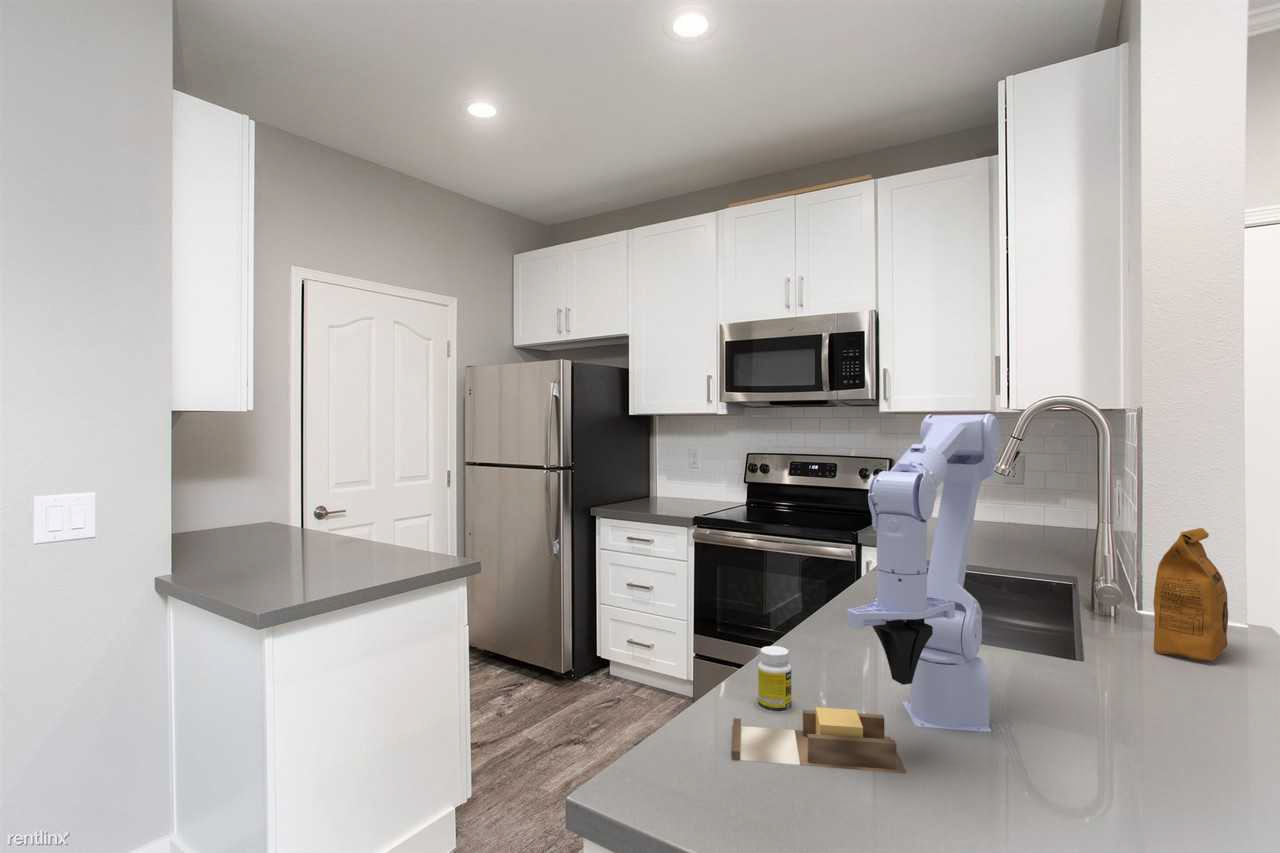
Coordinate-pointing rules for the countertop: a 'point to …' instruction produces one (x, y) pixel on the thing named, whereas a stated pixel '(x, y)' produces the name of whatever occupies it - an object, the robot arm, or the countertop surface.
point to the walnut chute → (819, 746)
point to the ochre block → (838, 722)
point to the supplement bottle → (774, 680)
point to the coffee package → (1190, 601)
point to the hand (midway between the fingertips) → (902, 681)
